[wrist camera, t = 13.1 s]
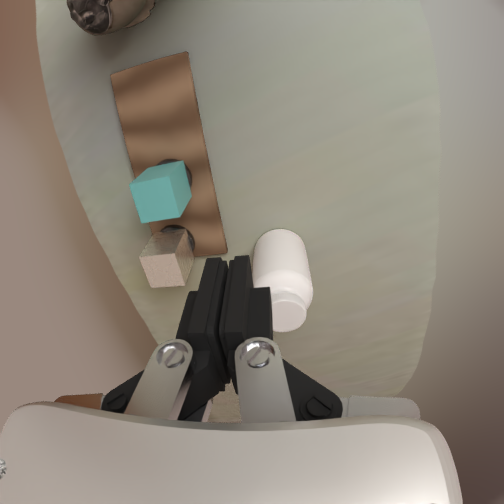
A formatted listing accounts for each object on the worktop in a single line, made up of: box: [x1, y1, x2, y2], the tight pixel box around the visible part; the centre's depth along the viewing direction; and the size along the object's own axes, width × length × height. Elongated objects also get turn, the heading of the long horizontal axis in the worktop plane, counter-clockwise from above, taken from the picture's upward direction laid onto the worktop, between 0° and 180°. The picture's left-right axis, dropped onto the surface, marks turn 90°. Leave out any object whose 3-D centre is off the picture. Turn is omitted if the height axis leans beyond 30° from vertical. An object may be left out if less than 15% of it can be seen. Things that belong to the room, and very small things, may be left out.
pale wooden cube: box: [139, 225, 195, 288], centre depth 43 cm, size 6×6×8 cm
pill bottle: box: [252, 229, 313, 332], centre depth 41 cm, size 8×8×15 cm
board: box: [110, 52, 228, 257], centre depth 40 cm, size 30×11×1 cm, turn 8°
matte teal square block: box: [129, 160, 192, 223], centre depth 37 cm, size 5×5×7 cm
